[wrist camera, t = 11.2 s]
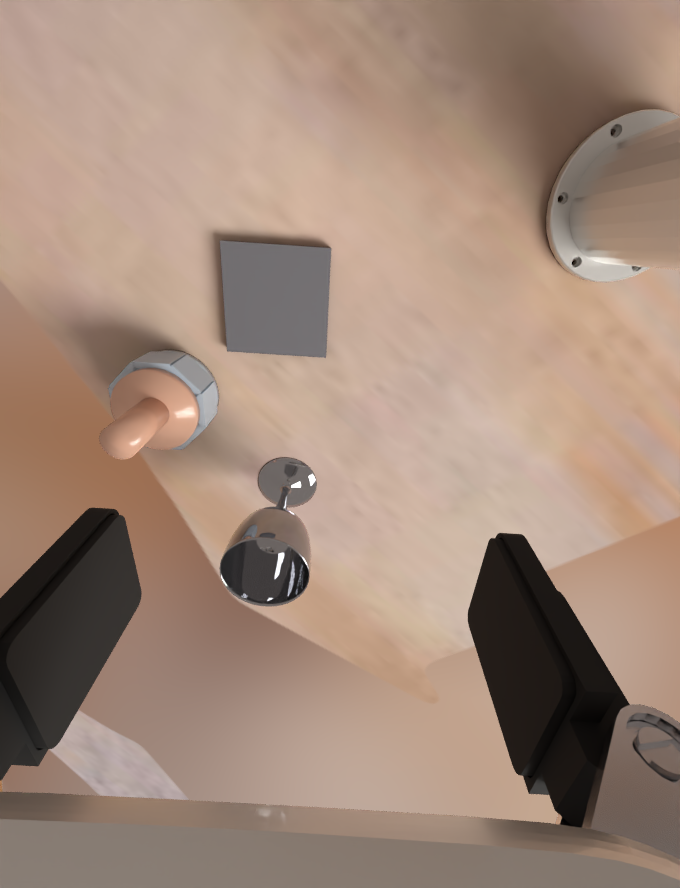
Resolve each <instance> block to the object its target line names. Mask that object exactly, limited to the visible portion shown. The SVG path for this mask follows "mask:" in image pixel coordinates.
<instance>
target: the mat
mask: <svg viewBox="0 0 680 888" xmlns="http://www.w3.org/2000/svg"><path fill="white" fill-rule="evenodd" d="M220 252H221V267H222V282H223V297H224V312H225V327H226V342H227V351H231V352H247V353H262V354H277V355H293V356H308V357H324V358H326V349H327V327H328V305H329V283H330V262H331V248H323V247H309V246H294V245H280V244H265V243H250V242H236V241H220Z"/></svg>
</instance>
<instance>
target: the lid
mask: <svg viewBox="0 0 680 888" xmlns="http://www.w3.org/2000/svg"><path fill="white" fill-rule="evenodd" d="M110 405H111V411H112V414H113V417H114V419H115V421H114V422H112V423H111V424H110V425H108V426H107V427H106V428H104V429H103V430H102V431H101V433H100V436H99V441H100V444H101V447H102V448H103V449H104V451H106V453H107V454H109V455H110V456H112V457H114V458H117V459H129V458H131V457H133V456H134V455H135V454H136V453H137V452H138V451H139V450H140V449H141V448H142V447H143V446H145V447H148V448H152V449H159V450H166V449H172V448H175V447H178V446H180V445H182V444H183V443H185V442H186V441H187V440H188V439H189V438H190V437H191V435H192V434H193V433H194V432H195V430H196V428H197V426H198V424H199V420H200V408H199V404H198V401H197V398H196V396H195V394H194V393H193V391H192V390H191V388H190V387H189V386H188V385H187V384H186V383H185V382H184V381H183V380H182V379H181V378H179V377H178V376H176V375H175V374H173V373H171V372H168V371H166V370H162V369H158V368H142V369H138V370H135V371H133V372H131V373H130V374H128V375H126V376H125V377H123V378H122V379H120V380H119V381H118V382H117V384H116V385H115V387H114V389H113V391H112V394H111V399H110Z"/></svg>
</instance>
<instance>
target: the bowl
mask: <svg viewBox="0 0 680 888" xmlns="http://www.w3.org/2000/svg"><path fill="white" fill-rule="evenodd" d="M142 368H158V369H162V370H166V371H168V372H171V373H173V374H175V375H176V376H178V377H179V378H181V379H182V380H183V381H184V382H185V383H186V384H187V385H188V386H189V387H190V388H191V390H192V391H193V393H194V394H195V396H196V398H197V401H198V404H199V408H200V420H199V424H198V426H197V428H196V430H195V432H194V433H193V434H192V435H191V437H190V438H189V439H188V440H187V441H186V442H185V443H183V444H182V445H180V446H178V447H175V448H172V449H176V450H182V449H184V448H185V447H186V446H187V445H188V444H189V443H191V442H192V441H193V440H194V439H195V438H196V437H197V436H198V435H199V434H200V433H201V432H202V431H203V430H205V428H206V427H207V426H208V425H209V423H210V422H211V421H212V419H213V418H214V417H215V415H216V414H217V406H218V402H219V391H218V386H217V383H216V381H215V378H214V377H213V375H212V373H211V372H210V371H209V369H208V368H207V367H206V366H205V365H204V364H203V363H202V362H201V361H200V360H198V359H197V358H195V357H193V356H192V355H190V354H187V353H185V352H181V351H177V350H162V351H158V352H157V351H150V352H148V353H146V354H144V355H143V356H141V357H139V358H137V359H135V360H133V361H132V362H130V363H129V364H128V365H127V366H126V367H125V368H124V370H123V371H122V372H121V373H120V374H119V375H118V376H117V377H116V378H115V380H114V381H113V382H112V383H111V384H110V385H109V388H108V390H109V394H110V399H111V394H112V391H113V389H114V387H115V385H116V384H117V382H118V381H119V380H120V379H122V378H123V377H125V376H126V375H128V374H130V373H131V372H133V371H135V370H138V369H142ZM147 448H148V447H147Z"/></svg>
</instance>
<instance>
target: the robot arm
mask: <svg viewBox="0 0 680 888" xmlns="http://www.w3.org/2000/svg"><path fill="white" fill-rule="evenodd" d="M611 130H612V136H611V134H610V133H611ZM559 196H560V197H561V200H560V202H558V197H559ZM546 229H547V237H548V241H549V245H550V248H551V250H552V252H553V254H554V256H555V258H556V260H557V261H558V262H559V263H560V264H561V266H562V267H563V268H564V269H566V270H567V271H568V272H569V273H571V274H572V275H574V276H576V277H579V278H581V279H584V280H589V281H594V282H614V281H621V280H624V279H627V278H630V277H634V276H636V275H638V274H640V273H642V272H644V271H646V270H648V269H649V268H662V269H675V270H680V116H679V115H677V114H675V113H673V112H669V111H665V110H660V109H649V110H640V111H636V112H632V113H629V114H625V115H623V116H621V117H619V118H616V119H614V120H612V121H610V122H608V123H607V124H605V125H603V126H602V127H600V128H598V129H597V130H596V131H594V132H593V133H592V134H591V135H590V136H588V137H587V138H586V139H585V140H584V141H583V142H582V143H581V144H580V145H579V146H578V147H577V148H576V149H575V151H574V152H573V153H572V154H571V155H570V157H569V158H568V160H567V161H566V163H565V164H564V166H563V167H562V169H561V170H560V172H559V175H558V177H557V179H556V181H555V183H554V185H553V188H552V191H551V195H550V198H549V202H548V208H547V215H546ZM573 259H574V263H573V264H572V261H573ZM632 266H633V267H632ZM140 600H141V587H140V583H139V579H138V574H137V570H136V565H135V561H134V557H133V552H132V548H131V544H130V539H129V535H128V530H127V526H126V521H125V518H124V517H123V516H121V515H119V513H118V512H117V510H115V509H105V508H104V509H103V508H89V509H88V510H87V511H85V512H84V513H83V514H82V516H80V517H79V518H78V519H77V521H76V522H75V523H74V524H73V525H72V526H71V527H70V528H69V529H68V530H67V531H66V532H65V533H64V534H63V535H62V536H61V537H60V538H59V539H58V540H57V541H56V542H55V543H54V544H53V545H52V546H51V547H50V548H49V549H48V550H47V551H46V552H45V553H44V554H43V555H42V556H41V557H40V558H39V559H38V560H37V561H36V563H34V564H33V565H32V566H31V568H30V569H28V571H27V572H26V573H25V574H24V575H23V576H22V577H21V578H20V579H19V580H18V581H17V582H16V583H15V584H14V585H13V586H12V587H11V588H10V589H9V590H8V591H7V592H6V593H5V594H4V595H3V596H2V597H1V598H0V888H680V723H679V722H677V721H676V720H674V719H673V718H672V717H670V716H669V715H667V714H665V713H663V712H661V711H659V710H657V709H655V708H651V707H648V706H644V705H640V704H639V705H630V704H629V703H628V701H627V699H626V698H625V696H624V694H623V693H622V691H621V689H620V688H619V686H618V685H617V683H616V681H615V680H614V678H613V676H612V675H611V673H610V671H609V670H608V668H607V667H606V665H605V663H604V661H603V660H602V658H601V656H600V655H599V653H598V652H597V650H596V648H595V647H594V645H593V643H592V642H591V640H590V639H589V637H588V635H587V633H586V632H585V630H584V628H583V627H582V625H581V624H580V622H579V621H578V619H577V617H576V615H575V614H574V612H573V610H572V609H571V607H570V606H569V604H568V602H567V601H566V599H565V597H564V596H563V595H562V594H561V593H560V592H559V591H557V590H556V588H555V586H554V585H553V583H552V581H551V580H550V578H549V576H548V575H547V573H546V571H545V570H544V568H543V566H542V565H541V563H540V561H539V560H538V558H537V556H536V554H535V553H534V551H533V549H532V548H531V546H530V544H529V543H528V541H527V539H526V538H525V537H524V536H523V535H521V534H507V533H499V534H498V535H497V536H496V538H491V539H490V540H489V542H488V546H487V549H486V553H485V556H484V559H483V563H482V566H481V569H480V573H479V576H478V580H477V583H476V586H475V590H474V593H473V597H472V600H471V603H470V607H469V610H468V624H469V628H470V631H471V634H472V637H473V640H474V644H475V647H476V650H477V653H478V656H479V660H480V663H481V666H482V669H483V672H484V676H485V679H486V682H487V685H488V688H489V692H490V695H491V698H492V701H493V704H494V708H495V710H496V714H497V717H498V720H499V724H500V727H501V730H502V733H503V736H504V740H505V743H506V746H507V749H508V752H509V756H510V759H511V762H512V765H513V768H514V770H515V772H516V773H517V774H518V775H523V777H524V780H525V783H526V786H527V789H528V792H529V794H544V795H550V798H551V800H552V803H553V806H554V809H555V811H556V812H557V813H558V816H557V819H556V822H555V824H551V823H541V822H529V821H517V820H503V819H492V818H480V817H467V816H453V815H435V814H420V813H403V812H387V811H370V810H354V809H338V808H319V807H301V806H284V805H266V804H248V803H230V802H211V801H192V800H174V799H154V798H134V797H114V796H93V795H73V794H53V793H22V792H3V789H2V779H3V777H4V776H5V774H6V773H7V771H8V769H9V768H10V766H11V765H25V766H39V764H40V762H41V761H42V759H43V757H44V756H45V754H46V752H47V751H48V749H52V748H54V747H55V746H56V745H57V744H58V743H59V741H60V740H61V738H62V737H63V735H64V733H65V732H66V730H67V728H68V726H69V725H70V723H71V721H72V720H73V718H74V716H75V714H76V713H77V711H78V709H79V707H80V706H81V704H82V702H83V701H84V699H85V697H86V695H87V694H88V692H89V690H90V689H91V687H92V685H93V683H94V682H95V680H96V678H97V676H98V675H99V673H100V671H101V669H102V668H103V666H104V664H105V663H106V661H107V659H108V657H109V656H110V654H111V652H112V650H113V649H114V647H115V645H116V643H117V642H118V640H119V638H120V637H121V635H122V633H123V631H124V630H125V628H126V626H127V625H128V623H129V621H130V620H131V618H132V616H133V614H134V612H135V611H136V609H137V607H138V605H139V603H140Z"/></svg>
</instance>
